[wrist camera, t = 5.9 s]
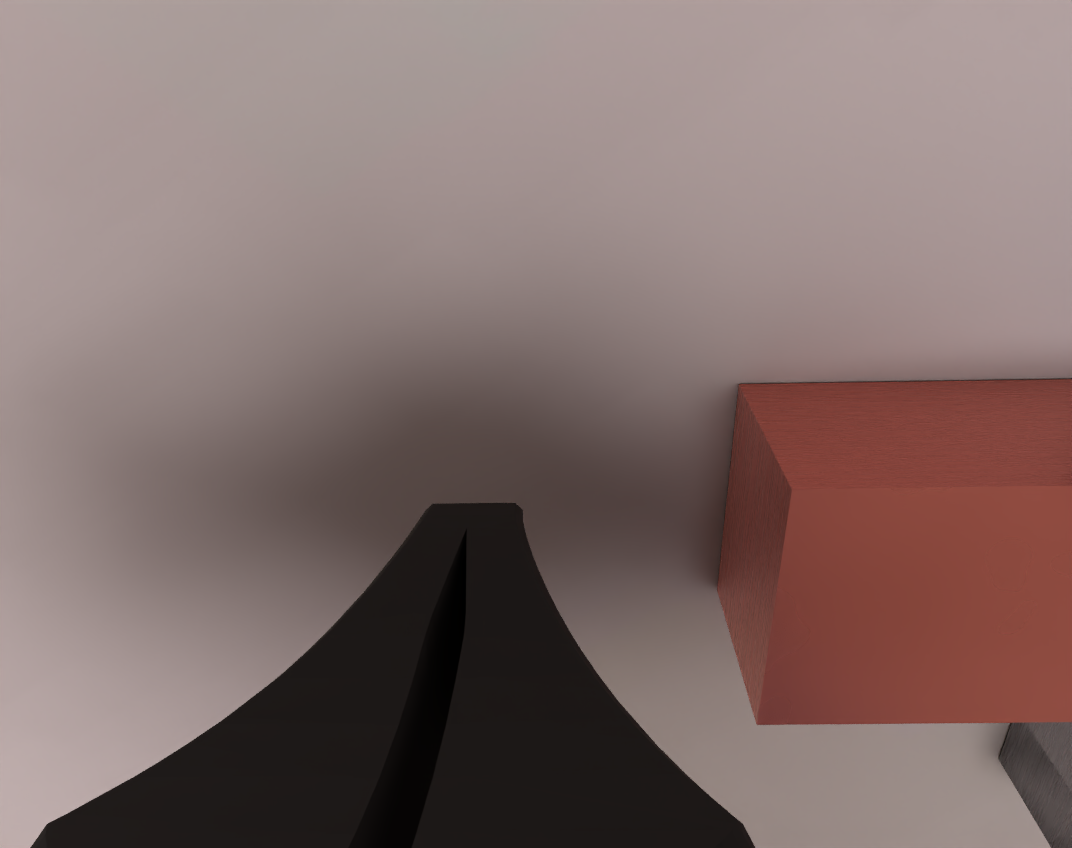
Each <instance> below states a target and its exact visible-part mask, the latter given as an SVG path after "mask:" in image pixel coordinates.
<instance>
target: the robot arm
mask: <svg viewBox="0 0 1072 848" xmlns="http://www.w3.org/2000/svg"><path fill="white" fill-rule="evenodd" d="M31 848H755V846H754V845H753V843H752V841H751V839H750V837H749V835H748V833H747V831H746V829H745V827H744V825H743V824H742V823H741V822H740V821H738V820H737V819H736V818H735V817H734V816H732V815H731V814H730V813H729V812H728V811H727V810H725V809H724V808H723V807H722V806H721V805H719V804H718V803H717V802H716V801H715V800H714V799H712V798H711V797H710V796H709V795H708V794H707V793H706V792H705V791H704V790H703V789H701V788H700V787H699V786H698V785H697V784H696V783H695V782H694V781H693V780H692V779H690V778H689V777H688V776H687V775H686V774H685V773H684V772H683V771H682V770H681V769H680V768H679V767H678V766H677V765H676V764H675V763H674V762H673V761H672V760H671V759H670V758H669V757H668V756H667V755H666V754H665V753H664V752H663V751H662V750H661V749H660V748H659V747H658V746H657V745H656V744H655V742H654V741H653V740H652V739H651V738H650V737H649V736H648V735H647V733H646V732H645V731H644V730H643V729H642V728H641V727H640V725H639V724H638V723H637V722H636V721H635V720H634V719H633V718H632V716H631V715H630V714H629V713H628V712H627V711H626V710H625V708H624V707H623V706H622V705H621V704H620V703H619V702H618V700H617V699H616V698H615V696H614V695H613V694H612V692H611V691H610V690H609V689H608V687H607V686H606V685H605V683H604V682H603V681H602V679H601V678H600V677H599V675H598V674H597V673H596V671H595V670H594V668H593V667H592V665H591V664H590V662H589V661H588V660H587V658H586V657H585V655H584V654H583V652H582V651H581V649H580V647H579V646H578V644H577V643H576V641H575V640H574V638H573V636H572V635H571V633H570V631H569V630H568V628H567V626H566V624H565V622H564V621H563V619H562V617H561V615H560V614H559V612H558V610H557V608H556V606H555V604H554V602H553V600H552V598H551V596H550V594H549V592H548V590H547V588H546V586H545V583H544V581H543V579H542V577H541V575H540V572H539V570H538V568H537V565H536V563H535V560H534V558H533V555H532V552H531V549H530V546H529V543H528V540H527V537H526V533H525V529H524V524H523V510H522V509H521V508H520V507H519V506H518V505H517V504H516V503H459V504H432V505H431V506H430V507H429V508H428V509H427V510H426V511H425V512H424V514H423V515H422V517H421V518H420V520H419V521H418V523H417V524H416V526H415V527H414V528H413V530H412V531H411V533H410V534H409V535H408V537H407V538H406V540H405V541H404V542H403V544H402V545H401V546H400V548H399V549H398V550H397V552H396V553H395V554H394V556H393V557H392V558H391V560H390V561H389V562H388V563H387V564H386V566H385V567H384V568H383V569H382V571H381V572H380V573H379V574H378V576H377V577H376V578H375V579H374V581H373V582H372V583H371V584H370V585H369V587H368V588H367V589H366V590H365V591H364V593H363V594H362V595H361V596H360V597H359V598H358V599H357V600H356V601H355V602H354V604H353V605H352V606H351V607H350V608H349V609H348V610H347V611H346V612H345V613H344V614H343V615H342V617H341V618H340V619H339V620H338V621H337V622H336V623H335V624H334V625H333V626H332V627H331V628H330V629H329V630H328V631H327V632H326V633H325V634H324V635H323V636H322V637H321V638H320V639H319V640H318V641H317V642H316V643H315V644H314V645H313V646H312V647H311V648H310V649H309V650H308V651H307V652H306V653H305V654H304V655H303V656H302V657H300V658H299V659H298V660H297V661H296V662H295V663H294V664H293V665H292V666H290V667H289V668H288V669H287V670H286V671H285V672H284V673H283V674H281V675H280V676H279V677H278V678H277V679H275V680H274V681H273V682H272V683H270V684H269V685H268V686H267V687H265V688H264V689H263V690H261V691H260V692H259V693H257V694H256V695H255V696H254V697H252V698H251V699H250V700H248V701H247V702H246V703H244V704H243V705H242V706H241V707H239V708H238V709H237V710H235V711H234V712H233V713H231V714H230V715H229V716H227V717H226V718H225V719H223V720H222V721H221V722H219V723H218V724H216V725H215V726H213V727H212V728H210V729H209V730H207V731H206V732H204V733H203V734H202V735H200V736H199V737H197V738H196V739H194V740H193V741H191V742H190V743H188V744H187V745H185V746H183V747H182V748H180V749H179V750H177V751H176V752H174V753H172V754H171V755H169V756H168V757H166V758H164V759H163V760H161V761H160V762H158V763H157V764H155V765H153V766H152V767H150V768H148V769H147V770H145V771H143V772H142V773H140V774H138V775H137V776H135V777H133V778H131V779H129V780H128V781H126V782H124V783H122V784H120V785H119V786H117V787H115V788H113V789H111V790H109V791H108V792H106V793H104V794H102V795H100V796H99V797H97V798H95V799H93V800H91V801H89V802H88V803H86V804H84V805H82V806H80V807H79V808H77V809H75V810H73V811H71V812H70V813H68V814H66V815H64V816H62V817H60V818H58V819H56V820H54V821H52V822H50V823H48V824H47V825H46V826H45V828H44V829H43V831H42V832H41V834H40V835H39V837H38V838H37V839H36V841H35V842H34V844H33V845H32V846H31Z"/></svg>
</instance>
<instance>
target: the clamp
mask: <svg viewBox="0 0 1072 848" xmlns="http://www.w3.org/2000/svg"><path fill="white" fill-rule="evenodd" d="M717 591H718V594H719V598H720V601H721V605H722V608H723V611H724V615H725V618H726V622H727V625H728V628H729V632H730V635H731V639H732V642H733V646H734V649H735V652H736V656H737V659H738V663H739V666H740V669H741V673H742V676H743V680H744V683H745V686H746V690H747V693H748V697H749V700H750V704H751V707H752V710H753V714H754V717H755V721H756V724H757V725H783V724H903V723H1011V726H1010V729H1009V732H1008V734H1007V737H1006V740H1005V743H1004V746H1003V749H1002V751H1001V754H1000V757H999V761H1000V762H1001V764H1002V766H1003V767H1004V769H1005V771H1006V772H1007V774H1008V776H1009V777H1010V779H1011V781H1012V782H1013V784H1014V786H1015V788H1016V789H1017V791H1018V793H1019V794H1020V796H1021V798H1022V799H1023V801H1024V803H1025V804H1026V806H1027V808H1028V809H1029V811H1030V813H1031V814H1032V816H1033V818H1034V819H1035V821H1036V823H1037V824H1038V826H1039V828H1040V829H1041V831H1042V833H1043V834H1044V836H1045V838H1046V839H1047V841H1048V843H1049V844H1050V846H1051V848H1072V379H1055V380H989V381H924V382H858V383H792V384H739V389H738V398H737V407H736V417H735V426H734V436H733V445H732V454H731V464H730V473H729V483H728V492H727V502H726V511H725V520H724V530H723V539H722V549H721V558H720V567H719V577H718V586H717Z"/></svg>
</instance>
